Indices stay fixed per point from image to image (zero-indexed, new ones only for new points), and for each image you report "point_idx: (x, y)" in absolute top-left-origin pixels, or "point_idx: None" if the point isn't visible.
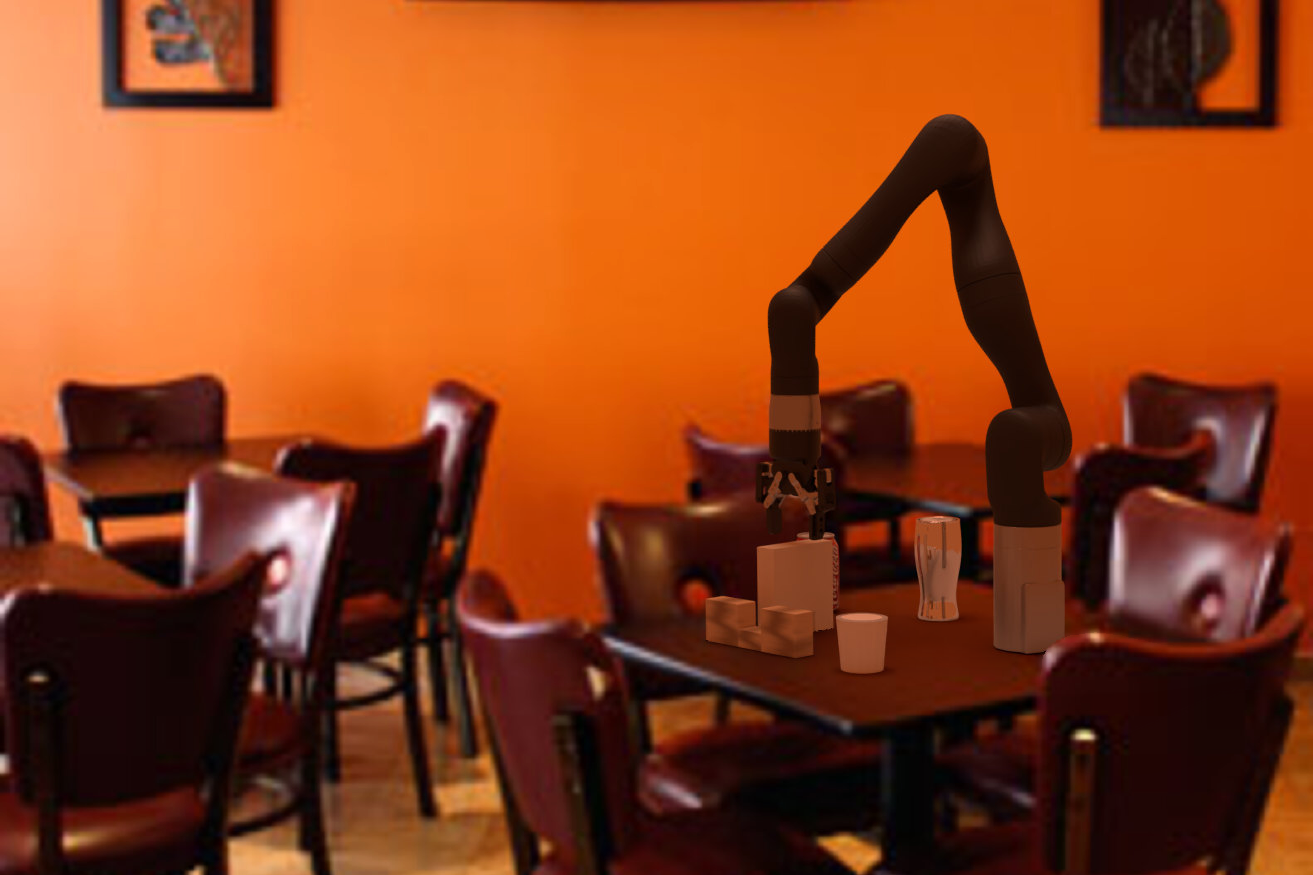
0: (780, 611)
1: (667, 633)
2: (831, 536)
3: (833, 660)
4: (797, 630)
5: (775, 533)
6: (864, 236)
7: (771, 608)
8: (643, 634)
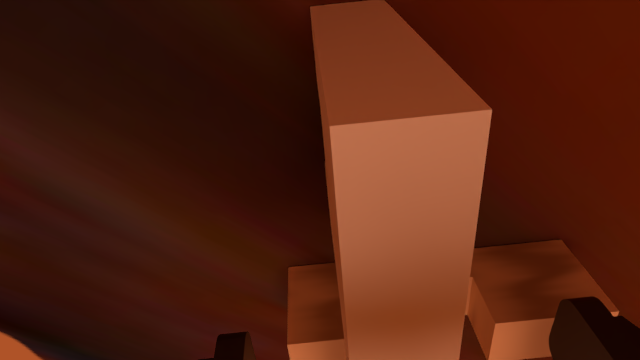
0: (550, 353)
1: (179, 316)
2: None
3: (626, 240)
4: None
5: (253, 358)
6: None
7: (507, 348)
8: (163, 345)
